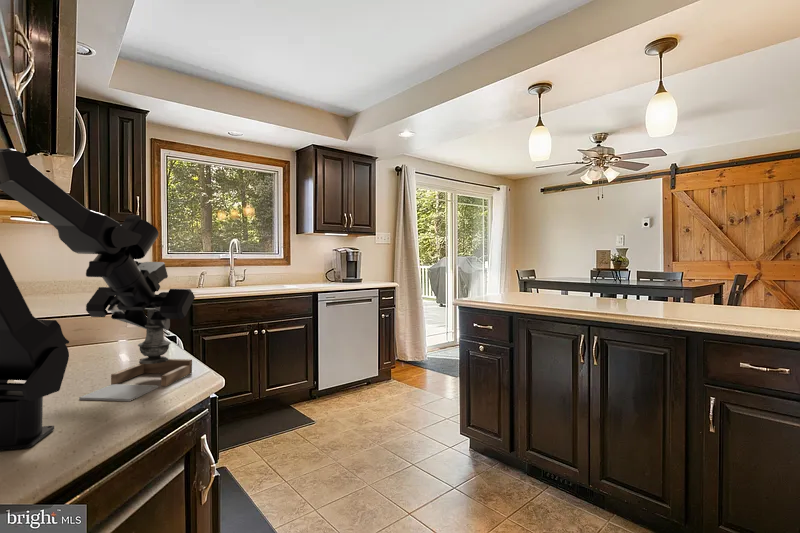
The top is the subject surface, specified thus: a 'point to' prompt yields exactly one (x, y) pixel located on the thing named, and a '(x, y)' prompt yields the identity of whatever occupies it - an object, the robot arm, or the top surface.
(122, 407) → the top surface
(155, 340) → the salt shaker
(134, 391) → the slate mat
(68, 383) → the top surface
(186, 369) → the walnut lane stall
